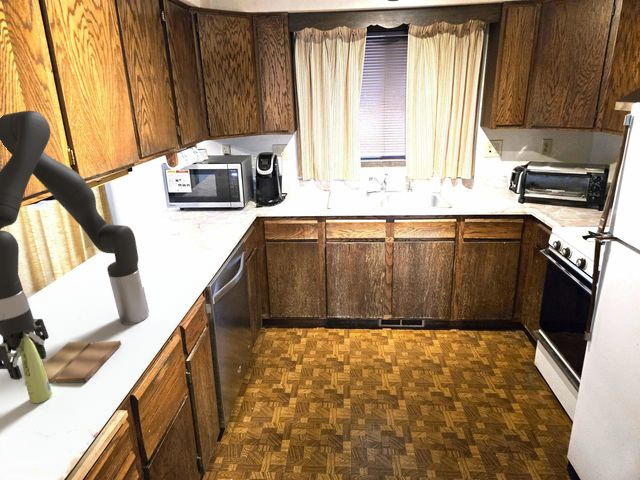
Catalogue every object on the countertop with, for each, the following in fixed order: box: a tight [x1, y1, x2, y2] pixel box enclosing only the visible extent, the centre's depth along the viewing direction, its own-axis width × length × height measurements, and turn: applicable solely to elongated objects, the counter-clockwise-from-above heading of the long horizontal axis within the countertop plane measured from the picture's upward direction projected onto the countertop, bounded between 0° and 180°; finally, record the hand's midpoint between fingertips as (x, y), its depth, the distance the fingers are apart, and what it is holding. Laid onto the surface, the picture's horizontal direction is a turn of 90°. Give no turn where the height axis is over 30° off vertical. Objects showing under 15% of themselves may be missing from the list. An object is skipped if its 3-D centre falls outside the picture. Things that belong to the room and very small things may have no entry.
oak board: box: [43, 341, 92, 384], centre depth 129 cm, size 18×8×1 cm, turn 174°
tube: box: [20, 331, 53, 404], centre depth 111 cm, size 6×5×20 cm
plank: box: [54, 340, 122, 384], centre depth 128 cm, size 18×9×1 cm, turn 174°
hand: (30, 368), depth 112 cm, fingers open, 8 cm apart
